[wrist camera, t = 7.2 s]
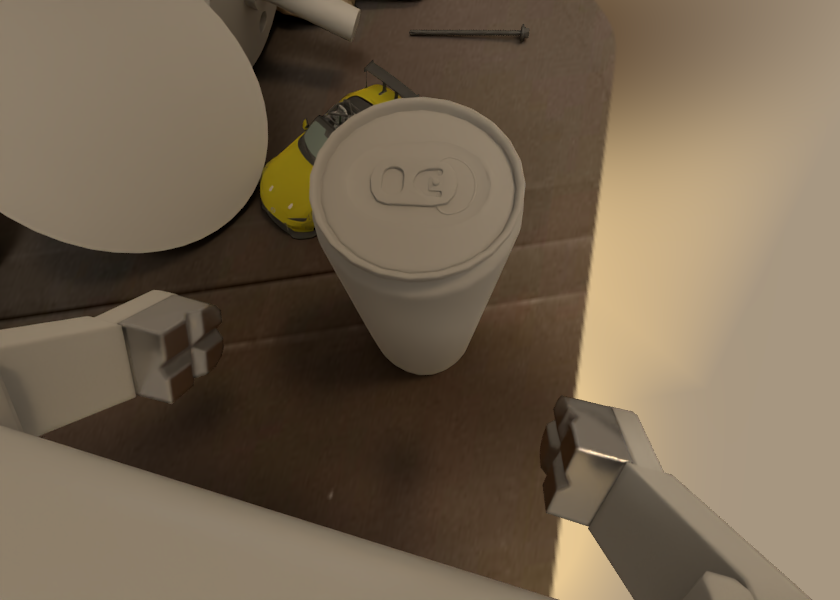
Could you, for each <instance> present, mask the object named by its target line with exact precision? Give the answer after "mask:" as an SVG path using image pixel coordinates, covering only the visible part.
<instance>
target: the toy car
mask: <svg viewBox="0 0 840 600" xmlns="http://www.w3.org/2000/svg"><path fill="white" fill-rule="evenodd" d="M365 71H366V88H364V89H361V90H358V91H355V92H352V93H350V94H348V95H346V96H345V97H343V98H342V99H341V101H340V102H339V103H337V104H335V105H334V106H333V107H332V108H331V109H329V110H328V111H327V112H326V113H325V114H324V115H323V116H320V115H319V116H318V117H316V118H315V120H314V121H313V122H312V123H311V125H310V126H309V125H308V122H307V119H305V120H304V121H303V128H304V129H305V132H304V133H303V134H302V135H301V136H299V137H298V138H297V139H296V140H295V141H294V142H292V143H291V144H290V145H289V146H288V147H287V148H286V149H285V150H284V151H282V152H281V153H280V154H279V155H278V156H276V157H275V158H273V159H272V160H270V161H269V162H268V163H267V164H266V165H265V167H264V168H263V171H262V174H261V179H260V195H261V199H262V209H264V210H265V211H266V212H267V214H268V215H269V216H270V218H271V219H272V220H273V221H274V222H275V223H276V224H277V225H278V226H279V227H280V228H281V229H283V230H284V231H285V232H287V233H288V234H290V235H291V236H292V238H297V239H307V238H311V237H314V236H316V235H317V233H316V232H315V231H314V227H315V226H314V222H313V219H312V208H311V204H310V201H309V189H310V174H311V171H312V168H313V165H314V163H315V160H316V157H317V154H318V152H319V150H320V149H321V148H322V146H323V145H324V143H325V142H326V140H327V139H328V138H329V136H330V135H331V133H332V132H333V131H335V130H336V129H337V128H338V127H339V126H341V125H342V124H343V123H344V122H345V121H346V120H348V119H349V118H350V117H352V116H353V115H355V114H357V113H359V112H361V111H363V110H365V109H367V108H369V107H371V106H373V105H376V104H380V103H383V102H387V101H391V100H394V99H400V98H401V97H400V96H402V97H403V98H415V97H419V94H418V95H416V94H415V93H414V92H412V91H411V90H410V89H409V88H408V87H406V86H405V85H404V84H403V83H401V82H400V81H399V80H398V79H396V78H395V77H394V76H392V75H391V74H389V73H388V72H387V71H385V70H384V69H382V68H381V67H379V66H378V65H376V64H375V63H374V61H373V60H372V61H371V62H370V63H369V64H368V65H367V66H366V67H365V68H364V72H365ZM367 71H368V72H370V73H371V74H373V75H374V76H375V77H377V78H378V79H380V80H381V81H382V82H383V86H382V85H378V84H376V85H372V86H369V87H367ZM386 85H388V86H389V87H390V88H392V89H393V90H394V91H395V92H393V91H392V90H391V89H389V88H387V87H386ZM398 94H399V95H400V96H399V95H398Z"/></svg>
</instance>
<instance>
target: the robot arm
mask: <svg viewBox="0 0 840 600" xmlns="http://www.w3.org/2000/svg"><path fill="white" fill-rule="evenodd" d="M221 323H222V317H221V310H220V309H219V308H218V307H217V306H216V305H213V304H209V303H205V302H202V301H198V300H195V299H191V298H188V297H184V296H181V295H177V294H173V293H169V292H165V291H162V290H152V291H150V292H148V293H146V294H144V295H141V296H139V297H137V298H135V299H133V300H131V301H129V302H126V303H124V304H122V305H120V306H118V307H116V308H114V309H111V310H109V311H107V312H105V313H103V314H101V315H99V316H96V317H94V318H93V317H89V316H85V317H79V318H72V319H66V320H60V321H53V322H47V323H41V324H34V325H28V326H22V327H15V328H9V329H3V330H0V600H558V599H554V598H551V597H548V596H545V595H542V594H539V593H536V592H532V591H529V590H526V589H523V588H520V587H516V586H513V585H510V584H507V583H504V582H500V581H497V580H494V579H491V578H488V577H484V576H481V575H478V574H475V573H472V572H468V571H465V570H462V569H459V568H456V567H452V566H449V565H446V564H443V563H440V562H436V561H433V560H430V559H427V558H424V557H420V556H417V555H414V554H411V553H408V552H404V551H401V550H398V549H395V548H392V547H388V546H385V545H382V544H379V543H376V542H372V541H369V540H366V539H363V538H360V537H356V536H353V535H350V534H347V533H344V532H340V531H337V530H334V529H331V528H328V527H324V526H321V525H318V524H315V523H312V522H308V521H305V520H302V519H299V518H296V517H292V516H289V515H286V514H283V513H280V512H276V511H273V510H270V509H267V508H264V507H260V506H257V505H254V504H251V503H248V502H244V501H241V500H238V499H235V498H232V497H229V496H225V495H222V494H219V493H216V492H213V491H209V490H206V489H203V488H200V487H197V486H193V485H190V484H187V483H184V482H181V481H177V480H174V479H171V478H168V477H165V476H161V475H158V474H155V473H152V472H149V471H145V470H142V469H139V468H136V467H133V466H129V465H126V464H123V463H120V462H117V461H113V460H110V459H107V458H104V457H101V456H98V455H94V454H91V453H88V452H85V451H82V450H78V449H75V448H72V447H69V446H66V445H62V444H59V443H56V442H53V441H50V440H46V439H43V438H40V437H38V436H41V435H43V434H46V433H48V432H50V431H53V430H55V429H58V428H60V427H63V426H65V425H68V424H70V423H73V422H75V421H78V420H80V419H83V418H85V417H88V416H90V415H93V414H95V413H97V412H100V411H102V410H105V409H107V408H110V407H112V406H115V405H117V404H120V403H122V402H125V401H127V400H130V399H132V398H135V397H136V395H139V396H142V397H146V398H150V399H154V400H158V401H162V402H166V403H170V404H172V403H173V402H175V401H176V400H177V399H178V398H179V397H181V396H182V395H183V394H184V393H185V392H187V391H188V390H189V389H190V388H191V387H193V386H194V378H196V377H200V376H203V375H206V374H208V373H209V372H210V371H211V370H212V369H213V368H215V367H216V365H217V363H218V362H219V360H220V358H221V356H222V353H223V348H224V343H223V337H222V335H221V334H220V332H219V331H218V329H217V328H218V327H219V325H220V324H221ZM553 410H554V416H555V420H554V421H552V422H550V423H548V424H547V425H546V428H545V431H544V433H543V436H542V441H541V446H540V465H541V468H542V469H543V471H544V472H545V473H546V475H547V476H546V478H545V480H544V483H543V492H544V501H545V509H546V513H548V514H551V515H554V516H557V517H561V518H564V519H567V520H570V521H573V522H576V523H579V524H582V525H586V526H589V528H588V529H589V530H590V532H591V533H592V535H593V537H594V538H595V540H596V541H597V543H598V544H599V546H600V548H601V549H602V550H603V552H604V554H605V555H606V557H607V558H608V560H609V561H610V563H611V565H612V566H613V568H614V569H615V571H616V572H617V574H618V575H619V577H620V578H621V580H622V581H623V583H624V585H625V586H626V588H627V589H628V591H629V592H630V594H631V595H632V597H633V599H634V600H812V599H811V598H810V597H809V596H807V595H806V594H805V593H804V592H803V591H802V590H801V589H800V588H798V587H797V586H796V585H795V584H794V583H793V582H792V581H791V580H790V579H789V578H787V577H786V576H785V575H784V574H783V573H782V572H780V570H778V569H777V568H776V567H775V566H774V565H773V564H772V563H771V562H769V561H768V560H767V559H766V558H765V557H764V556H763V555H762V554H760V553H759V552H758V551H757V550H756V549H755V548H754V547H753V546H752V545H750V544H749V543H748V542H747V541H746V540H745V539H744V538H743V537H741V536H740V535H739V534H738V533H737V532H736V531H735V530H734V529H732V528H731V527H730V526H729V525H728V524H727V523H726V522H725V521H724V520H722V519H721V518H720V517H719V516H718V515H717V514H716V513H715V512H714V511H712V510H711V509H710V508H709V507H708V506H707V505H706V504H705V503H703V502H702V501H701V500H700V499H699V498H698V497H697V496H696V495H694V494H693V493H692V492H691V491H690V490H689V489H688V488H687V487H685V486H684V485H683V484H682V483H681V482H680V481H679V480H678V479H676V478H675V477H674V476H673V475H671V474H667V473H664V471H663V469H662V467H661V465H660V462H659V460H658V458H657V456H656V454H655V452H654V450H653V448H652V445H651V443H650V441H649V439H648V437H647V435H646V433H645V431H644V428H643V426H642V424H641V422H640V420H639V418H638V416H637V415H636V414H635V413H634V412H632V411H628V410H623V409H619V408H614V407H610V406H603V405H599V404H596V403H591V402H587V401H583V400H579V399H575V398H571V397H567V396H563V395H561V396H560V397H559V399H558V400H557V402H556V404H555V407H554V409H553Z"/></svg>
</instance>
